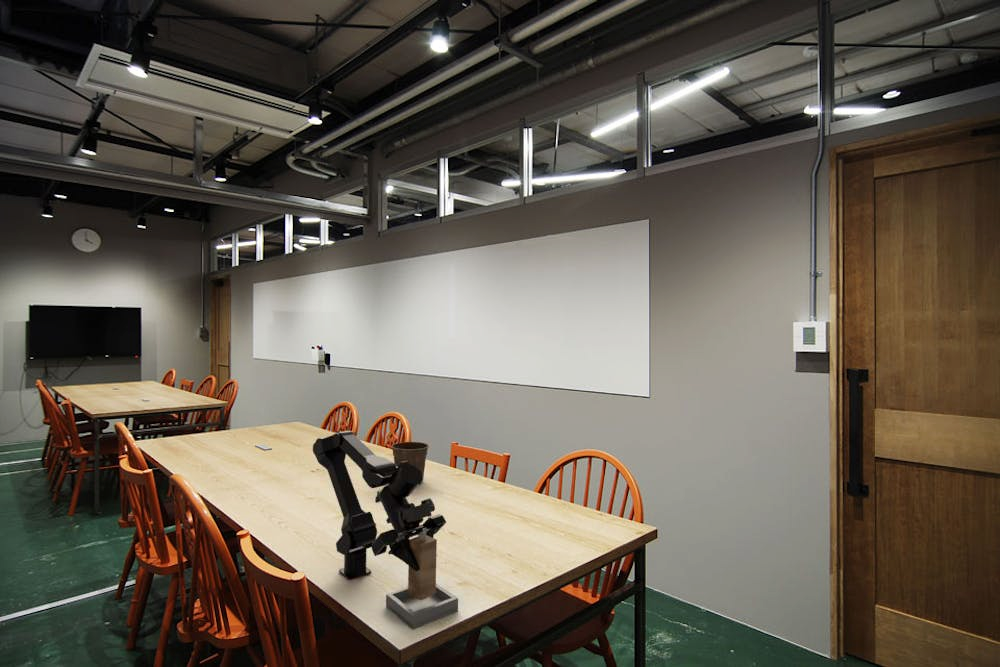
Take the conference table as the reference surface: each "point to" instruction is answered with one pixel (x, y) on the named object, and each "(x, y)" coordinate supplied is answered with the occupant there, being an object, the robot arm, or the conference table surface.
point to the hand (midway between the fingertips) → (426, 566)
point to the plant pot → (411, 454)
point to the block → (423, 567)
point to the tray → (421, 606)
